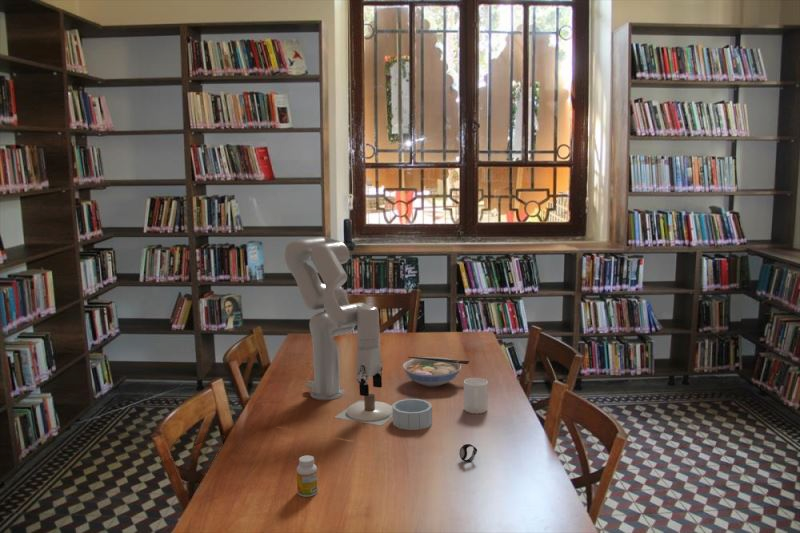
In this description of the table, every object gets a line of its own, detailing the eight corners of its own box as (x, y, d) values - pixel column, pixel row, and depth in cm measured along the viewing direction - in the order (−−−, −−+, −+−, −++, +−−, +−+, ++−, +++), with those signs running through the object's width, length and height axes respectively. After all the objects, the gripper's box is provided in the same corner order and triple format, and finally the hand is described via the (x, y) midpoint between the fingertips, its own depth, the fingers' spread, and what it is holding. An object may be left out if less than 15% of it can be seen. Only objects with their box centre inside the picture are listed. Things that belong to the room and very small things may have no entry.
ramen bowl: (391, 389, 268) (390, 368, 266) (412, 371, 289) (412, 352, 287) (453, 397, 258) (453, 376, 257) (471, 378, 279) (471, 358, 278)
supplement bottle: (298, 488, 191) (296, 454, 189) (318, 487, 191) (317, 453, 190) (296, 498, 186) (295, 463, 184) (317, 496, 186) (316, 462, 184)
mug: (487, 418, 238) (487, 389, 236) (462, 417, 239) (462, 388, 237) (487, 405, 250) (487, 378, 248) (464, 405, 251) (464, 377, 249)
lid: (338, 416, 240) (337, 400, 239) (360, 401, 254) (359, 385, 253) (380, 424, 233) (379, 406, 232) (400, 407, 248) (400, 391, 247)
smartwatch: (459, 458, 208) (459, 442, 207) (476, 458, 208) (476, 442, 207) (460, 464, 204) (460, 448, 203) (477, 464, 204) (477, 448, 203)
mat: (334, 418, 240) (334, 417, 240) (359, 401, 256) (359, 400, 256) (381, 426, 232) (381, 425, 232) (404, 408, 248) (404, 407, 248)
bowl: (386, 426, 232) (385, 409, 231) (402, 413, 244) (402, 396, 242) (422, 433, 226) (422, 415, 225) (437, 419, 238) (437, 402, 237)
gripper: (370, 336, 249) (372, 382, 251) (346, 348, 233) (349, 397, 236) (390, 337, 246) (391, 384, 248) (366, 349, 230) (369, 400, 232)
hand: (371, 391), depth 242 cm, fingers open, 9 cm apart
